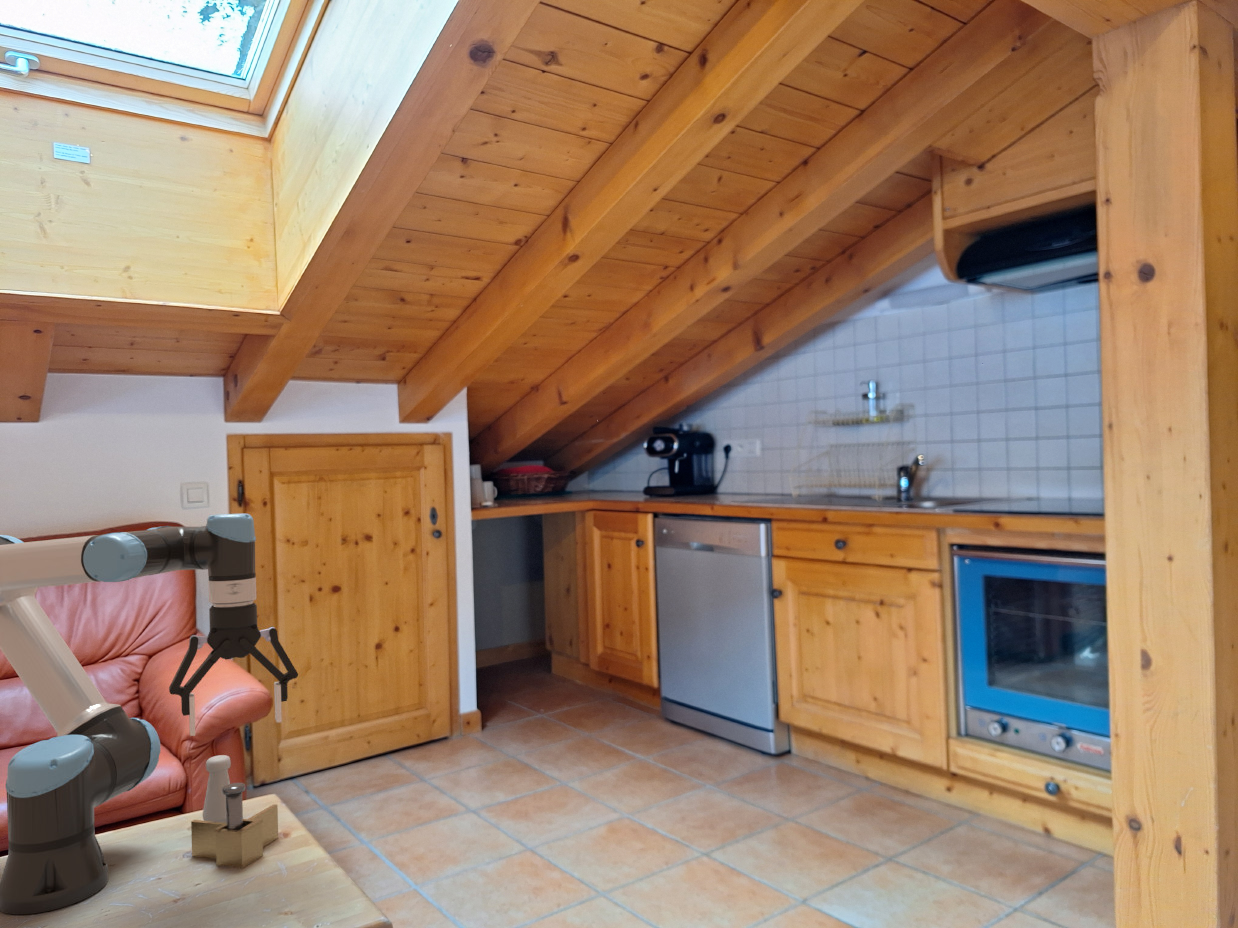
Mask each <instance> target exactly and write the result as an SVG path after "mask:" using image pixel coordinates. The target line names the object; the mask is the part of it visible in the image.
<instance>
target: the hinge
mask: <svg viewBox="0 0 1238 928" xmlns="http://www.w3.org/2000/svg"><path fill="white" fill-rule="evenodd" d="M278 807H279V806H278V803H277V804H276V803H274V804H271V805H270V806H268V807H266V808H264V809H263V810H261V811H258V812H257V813H255V814H254V815H252V816H250V817H248V818H243V828H242V829H240V830H230V829H227V826H226V823H223V822H212V821H204V820H201V819H200V820H199V819H193V820H192V821H191V822H190V823H191V824H190V829H191V856H192V857H197V858H206V859H215V860H216V861H215V862H216V866H217V867H218V866H219V867H227V868H236V869H244V868H245V867H247V866H248V865H250V864H251V863H253V862H255V861H256V860H258V859H259V858H261V857H263V855H264V847H266V846H267V845H269V844H270V843H272V842H273V841H275V840H277V839H279V817H278V816H279V814H278Z"/></svg>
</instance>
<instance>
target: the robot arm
mask: <svg viewBox="0 0 1238 928" xmlns="http://www.w3.org/2000/svg"><path fill="white" fill-rule="evenodd" d="M255 532H256V531H255V522H254V518H253V516H252V515H251V514H249V513H223V514H222V513H221V514H212V515H209V516H207V519H206V525H201V526H171V525H164V526H158V527H151V528H148V529H143V530H135V531H134V530H133V531H124V532H123V531H121V532H120V531H117V532H109V533H103V534H98V535H95V534H93V535H84V536H75V537H65V538H55V539H48V540H47V539H46V540H37V541H28V542H27V541H26V542H24V541H23V540H21V539H19V538H17V537H15V536H11V535H9V534H8V535H6V534H0V651H1V652H2V653H3V655H4V656H5V658H6V659H7V661H8V663H9V664H10V665H11V667H12V668H13V670H14V671H15V672H16V674H17V676H18V677H19V678H20V680H21V681H22V683H23V684H24V686H25V688H26V689H27V690H28V692H29V693H30V694H31V696H32V698H33V699H34V702H36V704H37V705H38V707H39V708H40V710H41V711H42V713H43V714H44V715H45V717H46V720H48V721H49V723H50V725H51V726H52V728H53V729H54V731H55V732H56V736H54V737H50V738H49V739H44V740H40V741H38V742H35V743H32V744H30V745H28V746H26V747H24V748H22V749H21V750H19V751H18V752H17V753H15V754H14V755H13V756H12V758H11V759H10V760H9V762H8V764H7V771H6V772H7V773H6V775H7V776H6V780H5V791H6V808H7V811H6V812H7V834H8V835H7V836H8V838H7V839H8V855H7V858H6V861H5V865H4V868H3V872H2V874H1V880H0V912H2V913H5V914H9V915H30V914H31V915H33V914H38V913H44V912H49V911H53V910H58V909H61V908H65V907H67V906H70V905H73V904H76V903H78V902H81V901H83V900H86V899H87V898H89V897H92V896H93V895H95V894H96V893H98V892H99V891H100V890H102V889H103V888H104V887H105V886H106V885H107V883H108V881H109V865H108V862H107V861H106V859H105V857H104V853H103V852H102V851H103V850H102V848H101V846H100V843H99V841H98V839H97V837H96V834H95V831H96V830H95V808H96V807H98V806H101V805H102V804H104V803H106V802H108V801H110V800H112V799H114V798H116V797H118V796H119V795H121V794H123V793H126V792H130V791H131V790H133V789H135V788H136V787H137V786H138V785H139V784H141V783H143V782H144V781H146V780H147V779H148V778H149V777H150V776H151V775H152V774H153V773H154V771H155V769H157V766H158V763H159V760H160V754H161V740H160V737H159V735H158V732H157V731H156V729H155V727H154V726H153V725H152V723H150V722H148V721H147V720H146V719H140V718H138V717H129V716H128V714H127V712H126V711H125V710H124V709H123V707H122V705H121V704H116V703H109V702H108V701H106V699H105V698H104V697H103V695H102V694H101V693H100V691H99V689H98V688H97V686H96V685H95V683H94V682H93V681H92V679H91V677H89V675H88V674H87V671H86V670H85V669H84V668H83V666H82V664H81V663H80V661H79V660H78V659H77V657H76V655H75V654H74V653H73V651H72V650H71V648H70V647H69V646H68V644H67V643H66V641H65V640H64V638H63V637H62V635H61V634H60V633H59V631H58V629H57V628H56V626H55V625H54V624H53V622H52V621H51V619H50V618H49V616H48V614H47V613H46V612H45V610H44V609H43V608H42V606H41V604H40V603H39V601H38V600H37V598H36V596H35V595H36V594H37V591H38V589H39V588H47V587H56V586H57V587H58V586H59V587H60V586H66V585H67V586H69V585H79V584H87V583H97V582H100V583H101V582H103V583H119V582H126V581H129V580H132V579H136V578H137V579H138V578H142V577H146V576H154V575H158V574H159V575H160V574H164V573H171V572H176V571H190V570H191V571H193V570H207V573H208V575H207V576H208V602H209V603H210V604H211V606H210V608H209V609H208V610H209V615H208V616H209V632H208V634H207V635H196V634H192V635H190V636H189V642H188V649H187V650H186V653H185V654H184V656H183V659H182V660H181V662H180V665H179V667H178V669H177V671H176V673H175V675H174V677H173V679H172V681H171V683H170V685H169V687H168V691H169V694H170V695H175V696H178V697H179V696H180V700H181V702H180V703H181V714H182V716H183V717H185V716H188V718H189V719H188V721H189V723H188V724H189V736H190V737H192V736H193V737H194V736H196V707H195V704H196V703H195V701H196V700H195V694H194V689H195V688H196V687H197V685H198V684H199V683H200V682H201V681H202V679H203V678H204V677H205V676H206V675H207V673H208V672H209V671H210V670H211V669H212V667H213V666H214V665H215V664H217V662H218V661H219V660H220V658H221V659H224V660H226V661H227V660H231V659H233V658H240V659H242V658H246V656H248V655H251V656H252V657H253V658H254V659H255V660H257V661H258V662H259V663H260V664H261V665H262V666H263V667H264V668H265V669H266V670H267V671H268V672H269V673H270V674H271V675H272V676H273V677H275V679H277V680H278V681H275V682H274V683H273V687H274V688H273V690H274V720H275V722H276V723H278V724H279V723H282V722H283V719H282V702H284V703H285V702H287V701H288V699H289V696H288V693H289V692H288V684H289V682H290V681H291V680H295V679H297V678H298V676H299V673H298V672H297V669H296V667H295V666H294V664H293V663H292V661H291V659H290V658H289V656H288V655H287V653H286V651H285V649H284V647H283V646H282V644H281V642H280V641H279V636H278V629H276V628H275V627H274V626H269V627H268V628H266V629H261V630H259V627H258V605H257V604H256V602H254V601H255V600H257V576H256V541H257V537H256V533H255ZM262 637H263V638H264V640H265V641H266V642H270V644H271V645H272V648H273V649H274V652H275V653H276V654H277V656H278V659H279V660H280V661H281V663H282V665H283V666H284V668H285V670H286V671H287V672H285V673H283V671H281V670H280V669H279V668H278V667H277V666H276V665H275V664H274V663H273V662H272V661H271V660H270V659H268V658H267V657H266V655H264V654H263V653H262V652H261V651H260V650H259V649H258V648H257V647H256V645H257V643H258V642H259V640H260V639H261V638H262ZM204 644H208V645H209V647H210V648H211V649H212V650H211V651H210V652H209V654H208V655H207V657H206V658H205V659H204V660H203V662H202V663H201V664H200V666H199V667H198V668H197V669H196V670H195V672H194V673H193V674H192V675H191V676H190V678H189V679H188V681H187V682H186V683H185V684H184V685H183V686H181V685H182V683H183V681H184V679H185V677H186V675H187V673H188V671H189V669H190V667H191V665H192V663H193V661H194V658H195V656H197V655H196V654H197V652H198V650H201V649H202V648H203V646H204Z"/></svg>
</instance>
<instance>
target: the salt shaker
mask: <svg viewBox="0 0 1238 928" xmlns="http://www.w3.org/2000/svg"><path fill="white" fill-rule="evenodd" d="M231 764H232V762H231V758H230V756H229V755H226V754H221V755H215V756H211V757H209V758H208V759H207V760H206V762H205V769H206V771H207V772H209V774H208V779H207V784H206V786H207V787H206V792H205V798H204V803H203V809H202V819H203V821H212V822H223V823H226V795H224V794H223V793H222V788H223V787H224V786H225V785H228V784H231V781H230V776H229V769H230V768H231Z"/></svg>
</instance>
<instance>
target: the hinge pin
mask: <svg viewBox="0 0 1238 928" xmlns="http://www.w3.org/2000/svg"><path fill="white" fill-rule="evenodd" d="M245 791H246V784H245V783H244V782H233V783H232V782H231V783H230V784H228V785H225V786H224V787H223V788H222V793H223V794H224V795H226V826H227V829H230V830H240V829H242V828H243V819H244V813H243V812H244V811H243V809H244V807H243V805H244V804H243V792H245Z"/></svg>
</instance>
